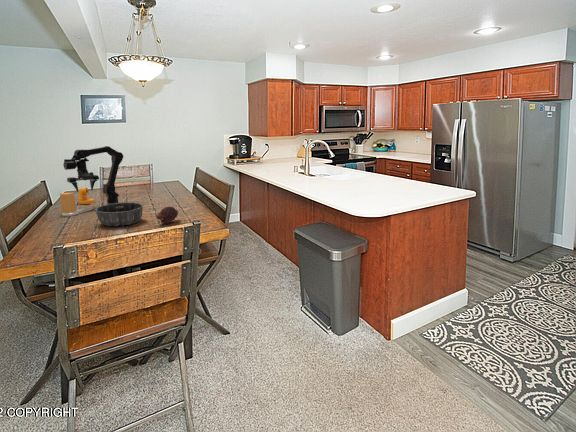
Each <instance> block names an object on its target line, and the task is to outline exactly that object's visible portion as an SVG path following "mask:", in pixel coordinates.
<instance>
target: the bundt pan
mask: <svg viewBox="0 0 576 432" xmlns="http://www.w3.org/2000/svg"><path fill="white" fill-rule="evenodd" d="M143 207H144V204H142V203H139V202H130V201H129V202H118V203H113V204H107V203H106V204H104V205H101V206H98V207H96V208H95V209H94V212H95V213H96V216H97V219H98V221H99V223H101V224H102V225H104V226H108V227H119V226H122V227H124V226H129V225H134V224H136V223H138V222H139V221H140V220H141V219H142V217H143Z"/></svg>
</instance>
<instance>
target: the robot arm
mask: <svg viewBox="0 0 576 432" xmlns="http://www.w3.org/2000/svg"><path fill="white" fill-rule="evenodd" d="M104 153H107V154H108V155H109V156H111V167H110V170H109V174H108V178H107V182H106V184H105V183H104V184H103V187H102V188H101V189H102V193H103V194H104V195H105V197H107V199H106V202H107V203H106V205H107V204H113V203H119V193H117V192H116V185H115V183H116V178H117V175H118V170H119V166H120V164H121V163H122V162H123V160H124V154H123V153H122V152H119V151H118V150H116V149H113V148H112V147H111V146H108V145H106V146H101V147H95V148H90V149H89V148H88V149H76V150H74V151H73V155H72V157H71V158H70V159H67V158H65V159H63V160H64V161H63V164H62V165H63V169H64V170H66V171H68V170H69V171H70V170H75V169H76V172H77V177H74V176H72V177H67V178H66V181H67V183H69V184H72V186H73V187H74V189H75V190H76V193H79V187H78V181H89V183H90V190H91V191H93V190H94V187H95V183H96V182H97V181H98V180H100V177H99V175H98V174H97V175H96V174H94V172H93V171H92V172H89V170H88V167H87V162H90V160H89V159H88V157H90V156H93V155H98V154H104Z"/></svg>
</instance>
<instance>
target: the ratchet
mask: <svg viewBox="0 0 576 432" xmlns="http://www.w3.org/2000/svg"><path fill="white" fill-rule="evenodd" d="M93 209H94V208H93V206H85V207H82V208H78V209H76V212H73V213H63V212H61V216H62V217H67V218H69V217H75V216H78V214H81V213H86V212H88V211H93Z"/></svg>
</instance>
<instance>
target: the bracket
mask: <svg viewBox="0 0 576 432" xmlns="http://www.w3.org/2000/svg"><path fill="white" fill-rule="evenodd" d="M88 195H89V188H88V187H78V201H77V202H78V205H92V204H94V202H95V198H89V197H88Z"/></svg>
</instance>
